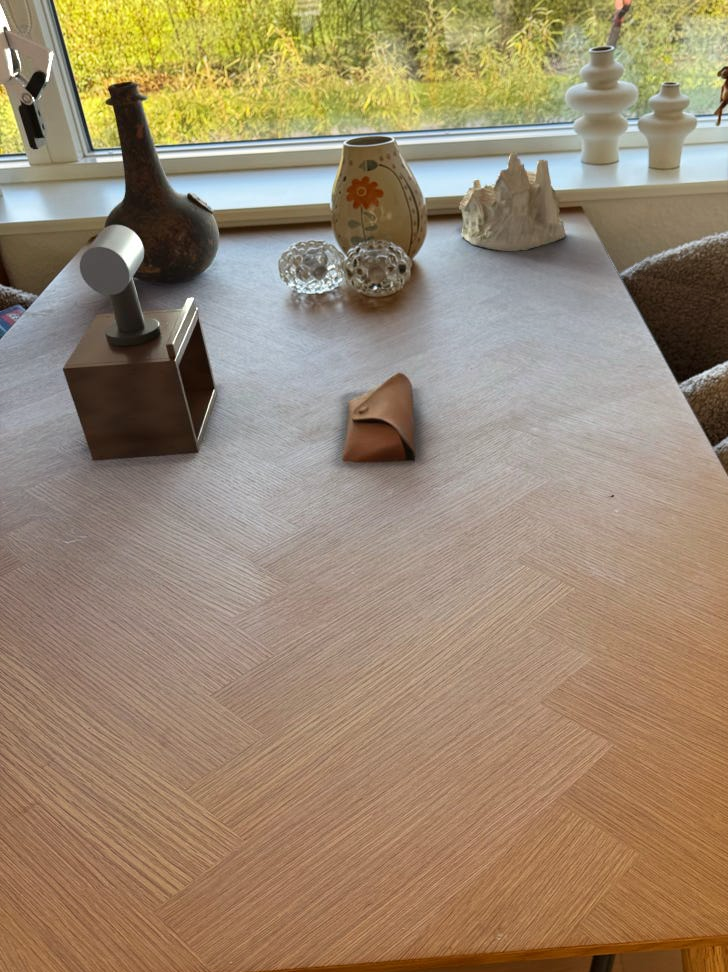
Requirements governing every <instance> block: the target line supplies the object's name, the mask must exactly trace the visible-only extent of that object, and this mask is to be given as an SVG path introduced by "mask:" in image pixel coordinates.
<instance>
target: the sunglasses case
mask: <svg viewBox="0 0 728 972" xmlns="http://www.w3.org/2000/svg"><path fill="white" fill-rule="evenodd" d="M414 406H415V405H414V392H413V385H412V383H411V381H410V379H409V377H408V376H407V375H405V374H404V373H402V372H397V373H395V374H394V375H391V377H389V378H388V379H386V380H385V381H384V382H383V383H381V384H380V385H378V386H377V387H375V388H373V389H371V390H369V391H367V392H365V393H363V394H361V395H359V396H357V397H355V398H353V399H351V400H349V401H348V402H347V424H346V434H345V441H344V446H343V450H342V455H341V461H342V462H346V463H360V464H361V463H365V464H367V463H391V462H407V461H412V462H415V461H416V438H415V437H416V433H415V410H414V409H415V408H414Z"/></svg>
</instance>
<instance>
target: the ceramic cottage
mask: <svg viewBox="0 0 728 972" xmlns="http://www.w3.org/2000/svg"><path fill="white" fill-rule="evenodd" d="M548 162H549V161H548V160H546V159H538V161H537V163H536V167H535V168H536V169H535V171H531V170H526V168H525V164H524V163H522V162H521V159H520V158H519V156H518V152H514V151H510V154H509V157H508V162H507V168H506V169H502V170H500V171H499V175H498V176H497V179H496V181H495V182H494V183H493V184H490V185H489V184H485V185H484V186H483V187H482V184H481V181H480V179H476V178H475V179H473V181H472V186H471V187H468V190H467V192H466V194H465V195H464V196H463V198H462V200H461V201H460V202H459V206H458V209H459V210H461V215H462V222H463V223H462V224H463V226H462V229H461V238H464V240H465V241H467V242H468V243H470V245H473V246H478V247H480V248H486V249H487V250H488V249H489V250H494V251H497V250H498V251H501V252H517V251H520V250H521V251H526V250H530V249H535V248H538V247H539V248H540V246H543V245H548V244H551V243H554V242H557V241H559V240H562V239H564V238H565V237H566V229H565V226H564V225H565V224H564V221H563V220H562V219H561V218H560V211H561V209H560V207H559V204H558V203H559V202H561V200H562V199H561V197H559V194H557V192H556V190H555V189H554V187H553V186H552V181H551V175H550V170H549V163H548Z"/></svg>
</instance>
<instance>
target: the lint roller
mask: <svg viewBox="0 0 728 972" xmlns="http://www.w3.org/2000/svg"><path fill="white" fill-rule="evenodd" d="M143 258H144V247H143V244H142V242H141V240H140V238H139V237H138V235H137V234H136V233H135V232H134V231H132V230H131V229H129V228H127V227H125V226H122V225H110V226H108V227H106V228H104V227H103V229H102V230H101V231H100V232H99V233H98V235H97V236H96V237H95V239H94V240H93V241H92V242H91V244H90V245H89V246H88V248H87V249H86V250H85V251H84V252H83V254H82V255H81V257H80V260H79V271H80V275H81V277H82V279H83V280H84V282H85V284H86V285H87V286H88V287H89V288H90V289H91V290H93V291H94V292H96V293H98V294H101V295H104V296H107V297H108V299H109V302H110V305H111V310H112V314H114V317H115V320H116V323H114V324H112V325H110V326H108V327H107V328H106V329H105V335H106V339H107V341H108V342H109V343H110V344H112V345H116V346H134V345H139V344H144V343H147V342H150V341H152V340H154V339H156V338H157V337H159V336H160V334H161V329H160V325H159V323H158V321H156V320H154V319H150V318H143V314H142V312H143V310H142V307H141V304H140V299H139V296H138V291H137V289H136V285H135V281H134V277H133V276H134V274H135V272H136V271H137V269H138V268H139V266H140V264H141V263H142V261H143Z"/></svg>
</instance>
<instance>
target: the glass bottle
mask: <svg viewBox="0 0 728 972" xmlns="http://www.w3.org/2000/svg"><path fill="white" fill-rule="evenodd" d="M107 90H108V94H109V97H108V98H107V99H106V100H105V102H104V103H105V104H106V105H107V106H111V107H112V110H113V113H114V118H115V124H116V129H117V135H118V140H119V145H120V152H121V157H122V158H121V159H122V165H123V173H124V175H123V176H124V195H123V199H122V200H121V201H120V202H119V203H118V204H117V205H115V206H114V208H112V210H111V211H110V212H109V214H108V216H107V217H106V220H105V223H104V227H103V229H104V228H106V227H108V226H110V225H122V226H125V227H127V228H129V229H131V230H132V231H134V232H135V233H136V234H137V235H138V237H139V238H140V240H141V242H142V244H143V247H144V258H143V261H142V263H141V264H140V266H139V268H138V269H137V271H136V272H135V274H134V276H133V279H136V280H138V281H141V282H144V283H148V284H152V285H169V284H170V285H171V284H177V283H183V282H186V281H189V280H192V279H194V278H196V277H198V276H200V275H201V274H203V273H204V272H205V271H206V270H207V269H208V268H209V267H210V266H211V264H212V263H213V262H214V260H215V258H216V256H217V253H218V250H219V246H220V232H219V231H220V230H219V227H218V226H219V225H218V223H217V220H216V219H215V216H214V213H215V212H214V210H213V208H212V207H211V206H210V205H208V203H207V202H205V201H204V200H203V199H201V198H200V197H199V196H197V195H196V194H195V193H192V192H187V194H186V193H181V192H177V190H176V189H174V188H173V186H172V185H171V183H170V181H169V179H168V177H167V175H166V173H165V170H164V168H163V165H162V162H161V160H160V157H159V153H158V152H157V149H156V145H155V142H154V139H153V136H152V133H151V129H150V127H149V123H148V119H147V116H146V112H145V108H144V104H143V102H144V101H147V100H148V98H149V97H148V96H147V94H142V93H141V92H140V83H137V82H134V81H123V82H117V83H114V84H110V85H109V86H108V87H107Z"/></svg>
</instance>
